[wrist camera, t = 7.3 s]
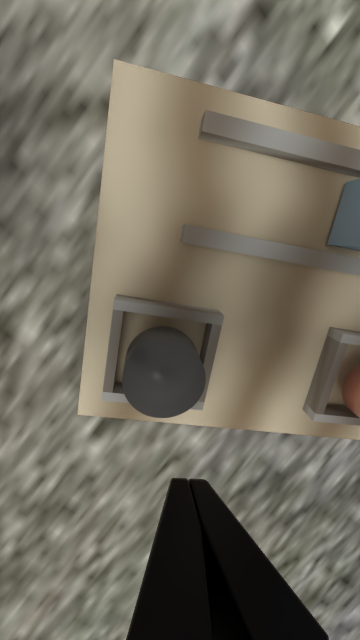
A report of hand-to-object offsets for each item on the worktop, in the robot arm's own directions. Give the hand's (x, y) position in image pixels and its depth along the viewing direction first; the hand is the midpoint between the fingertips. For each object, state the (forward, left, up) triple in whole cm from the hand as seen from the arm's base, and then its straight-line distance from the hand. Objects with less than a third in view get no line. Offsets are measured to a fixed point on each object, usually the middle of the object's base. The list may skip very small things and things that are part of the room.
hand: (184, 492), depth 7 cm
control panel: (+6, +4, -12) cm, 13 cm away
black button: (0, 0, -8) cm, 8 cm away
